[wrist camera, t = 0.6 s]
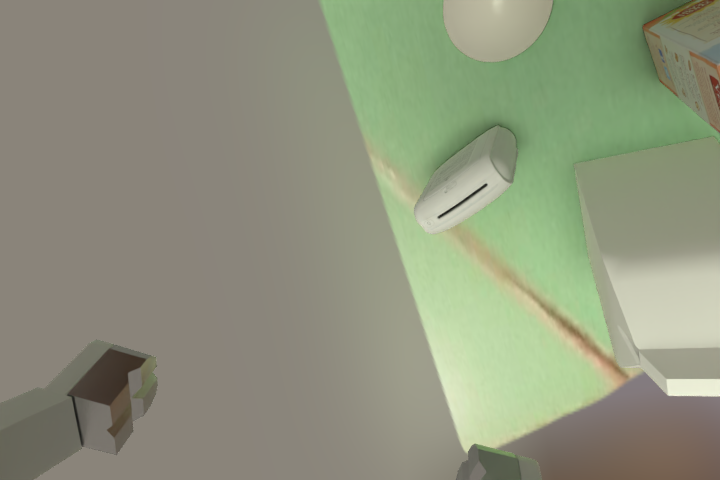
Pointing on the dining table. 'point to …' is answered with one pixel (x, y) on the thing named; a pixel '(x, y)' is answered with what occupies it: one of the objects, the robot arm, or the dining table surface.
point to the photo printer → (468, 181)
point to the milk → (658, 259)
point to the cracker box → (689, 55)
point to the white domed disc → (495, 26)
